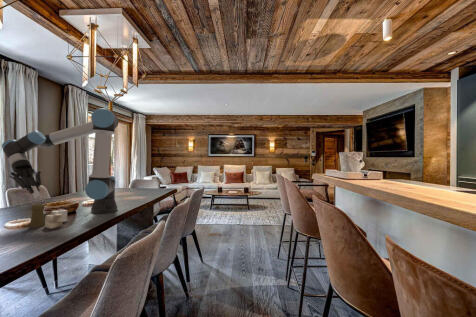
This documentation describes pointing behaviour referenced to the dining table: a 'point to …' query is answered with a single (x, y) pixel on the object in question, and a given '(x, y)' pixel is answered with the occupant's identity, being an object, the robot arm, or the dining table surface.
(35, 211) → the olive green tall block
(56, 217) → the birch block numbered 1
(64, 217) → the cream block numbered 7
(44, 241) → the dining table surface
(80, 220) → the dining table surface
